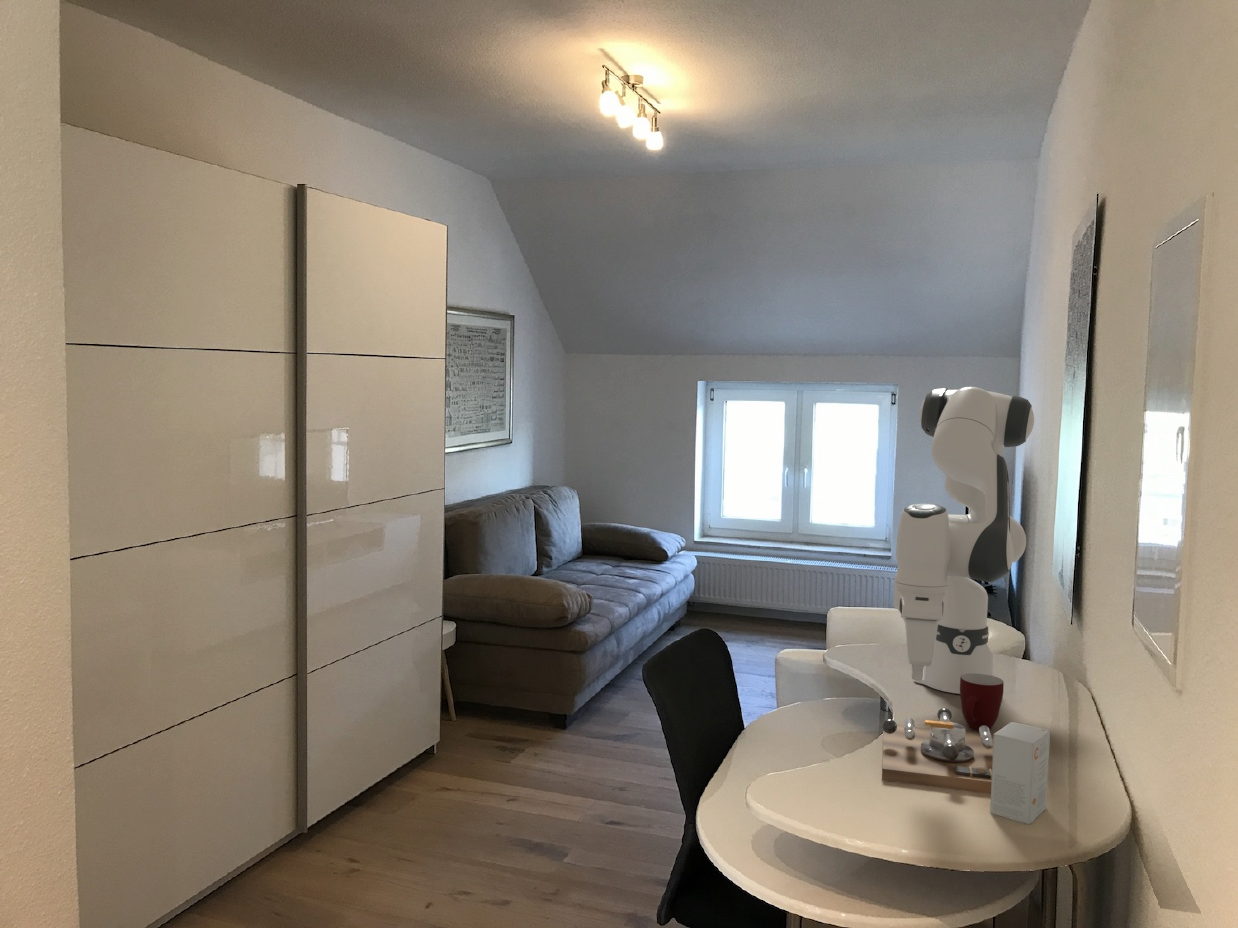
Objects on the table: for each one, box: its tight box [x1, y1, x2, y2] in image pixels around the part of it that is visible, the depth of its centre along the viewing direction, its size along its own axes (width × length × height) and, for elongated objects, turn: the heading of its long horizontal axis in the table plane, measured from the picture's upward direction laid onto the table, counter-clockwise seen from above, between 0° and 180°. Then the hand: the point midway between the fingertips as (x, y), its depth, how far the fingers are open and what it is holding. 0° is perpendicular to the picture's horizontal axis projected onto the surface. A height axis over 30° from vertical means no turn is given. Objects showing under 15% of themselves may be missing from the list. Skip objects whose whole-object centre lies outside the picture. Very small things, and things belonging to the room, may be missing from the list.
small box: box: [989, 721, 1051, 825], centre depth 157 cm, size 8×6×13 cm
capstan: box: [881, 707, 993, 763], centre depth 177 cm, size 23×23×5 cm
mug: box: [959, 673, 1005, 733], centre depth 195 cm, size 11×8×10 cm
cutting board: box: [881, 724, 994, 794], centre depth 178 cm, size 24×22×4 cm
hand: (916, 678), depth 171 cm, fingers closed
